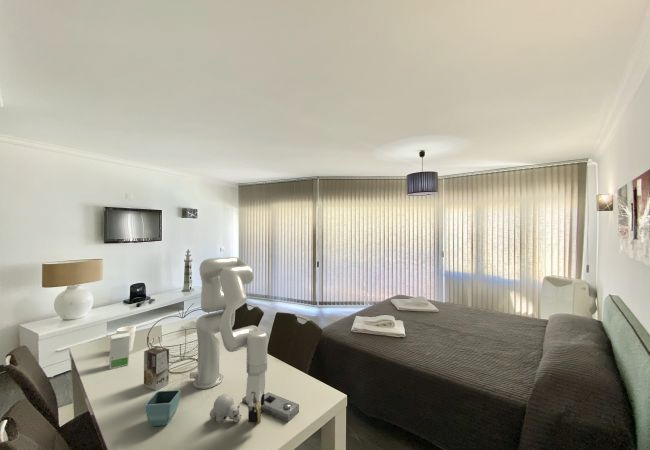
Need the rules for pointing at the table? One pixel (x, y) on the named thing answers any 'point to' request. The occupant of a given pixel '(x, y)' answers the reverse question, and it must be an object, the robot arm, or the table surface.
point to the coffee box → (156, 367)
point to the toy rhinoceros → (225, 409)
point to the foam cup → (131, 331)
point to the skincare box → (119, 350)
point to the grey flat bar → (278, 406)
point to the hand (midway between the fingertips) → (256, 412)
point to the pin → (258, 412)
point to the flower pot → (162, 407)
